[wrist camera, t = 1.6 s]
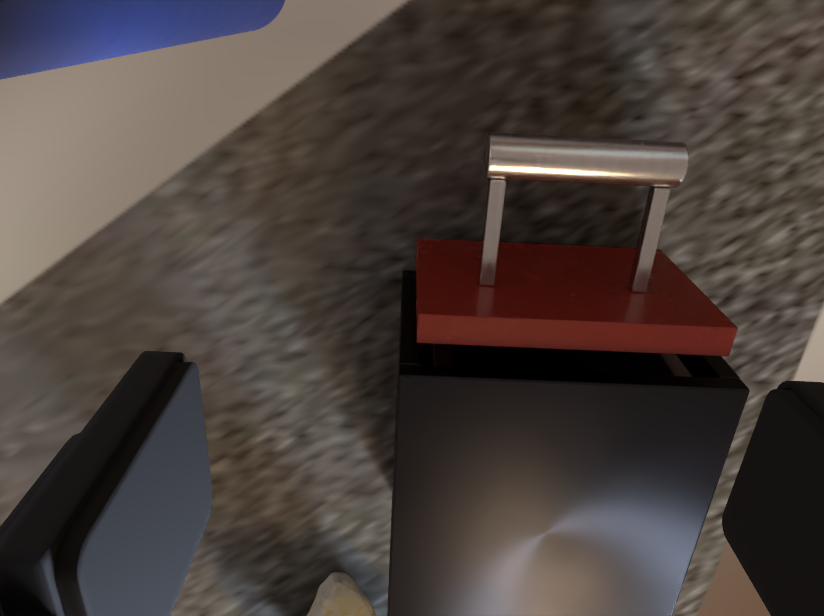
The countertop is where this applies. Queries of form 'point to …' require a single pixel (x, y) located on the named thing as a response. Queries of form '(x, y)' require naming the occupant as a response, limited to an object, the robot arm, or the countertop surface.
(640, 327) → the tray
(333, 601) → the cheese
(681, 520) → the black drawer housing
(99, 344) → the countertop surface
